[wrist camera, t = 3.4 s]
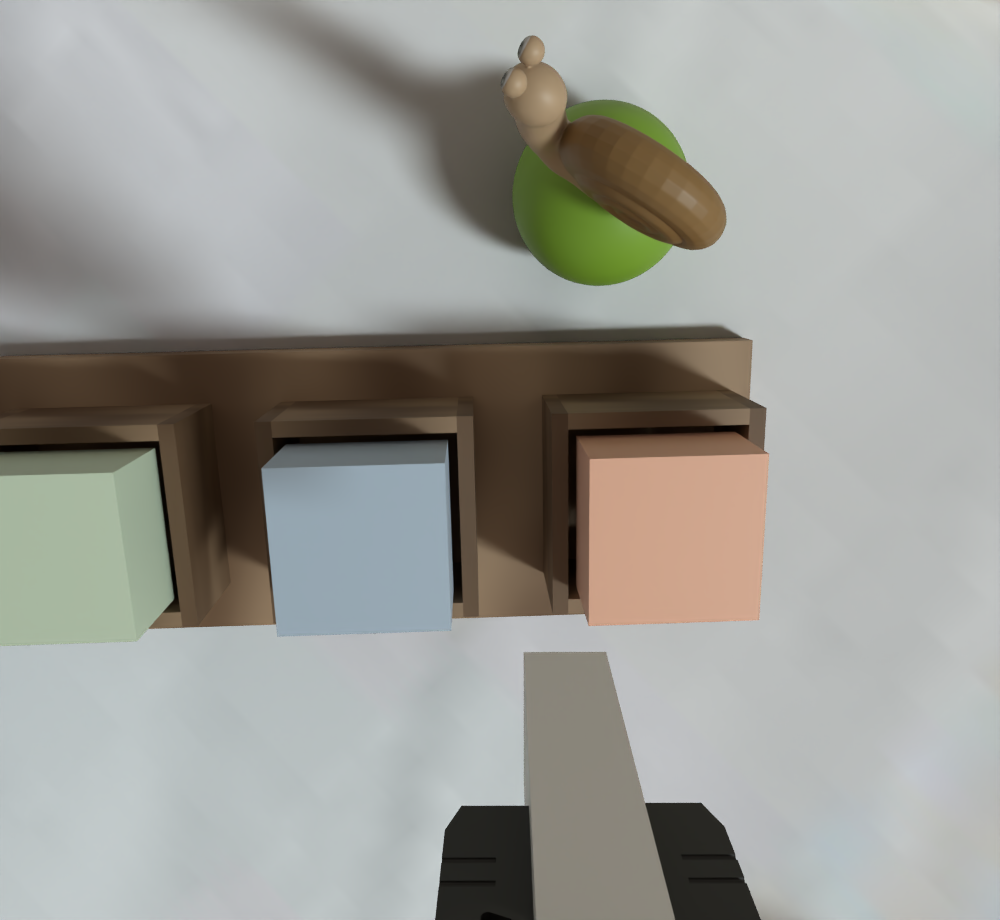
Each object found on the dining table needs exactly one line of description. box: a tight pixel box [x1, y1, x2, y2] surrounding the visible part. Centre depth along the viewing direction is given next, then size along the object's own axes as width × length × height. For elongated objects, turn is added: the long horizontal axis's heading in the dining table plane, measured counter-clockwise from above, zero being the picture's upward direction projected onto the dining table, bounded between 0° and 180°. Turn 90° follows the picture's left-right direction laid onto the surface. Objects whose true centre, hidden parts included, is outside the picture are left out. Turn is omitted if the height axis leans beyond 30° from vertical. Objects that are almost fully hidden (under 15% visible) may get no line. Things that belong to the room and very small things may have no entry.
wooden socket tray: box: [0, 338, 766, 629], centre depth 28 cm, size 26×10×5 cm, turn 91°
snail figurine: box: [501, 36, 726, 286], centre depth 22 cm, size 5×6×12 cm
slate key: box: [261, 440, 454, 637], centre depth 24 cm, size 5×5×3 cm
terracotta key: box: [576, 432, 769, 626], centre depth 24 cm, size 5×5×3 cm
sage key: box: [0, 448, 174, 646], centre depth 24 cm, size 5×5×3 cm
